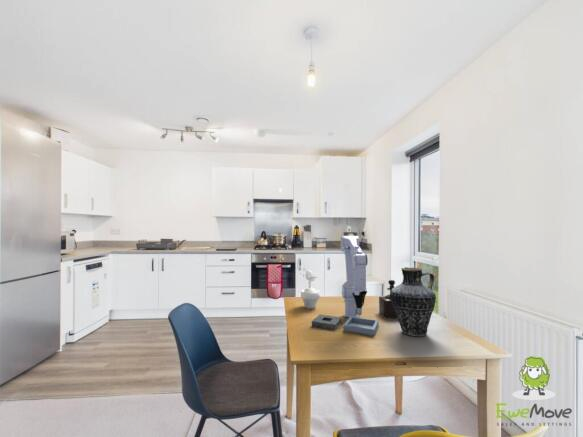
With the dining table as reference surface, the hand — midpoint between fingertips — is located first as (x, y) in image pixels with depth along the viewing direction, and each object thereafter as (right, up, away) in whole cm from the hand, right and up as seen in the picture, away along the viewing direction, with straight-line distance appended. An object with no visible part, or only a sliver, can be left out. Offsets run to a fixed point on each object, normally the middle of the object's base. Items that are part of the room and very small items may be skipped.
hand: (360, 306), depth 141 cm
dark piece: (+22, -11, +23) cm, 34 cm away
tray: (+1, -10, 0) cm, 10 cm away
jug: (+24, -11, -5) cm, 26 cm away
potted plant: (-22, -11, +35) cm, 43 cm away
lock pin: (-1, -3, 0) cm, 4 cm away
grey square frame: (-15, -11, +6) cm, 19 cm away
